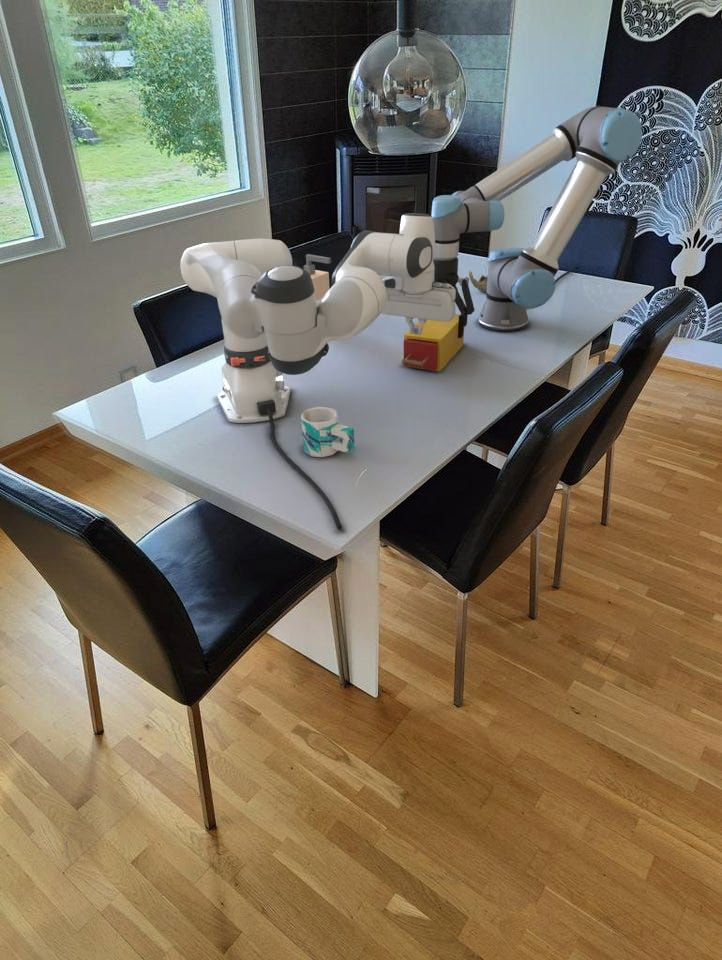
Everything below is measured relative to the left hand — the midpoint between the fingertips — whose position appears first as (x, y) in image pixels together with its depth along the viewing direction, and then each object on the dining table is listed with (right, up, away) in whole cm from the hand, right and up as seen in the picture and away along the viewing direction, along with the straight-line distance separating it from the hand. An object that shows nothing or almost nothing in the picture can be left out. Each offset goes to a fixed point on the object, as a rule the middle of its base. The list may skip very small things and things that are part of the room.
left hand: (416, 333), depth 176 cm
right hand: (+9, +4, +20) cm, 22 cm away
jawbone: (+31, +29, +65) cm, 78 cm away
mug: (-22, -32, -26) cm, 47 cm away
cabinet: (+7, -2, +18) cm, 19 cm away
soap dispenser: (-28, +12, +42) cm, 52 cm away
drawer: (+5, -4, +13) cm, 15 cm away
